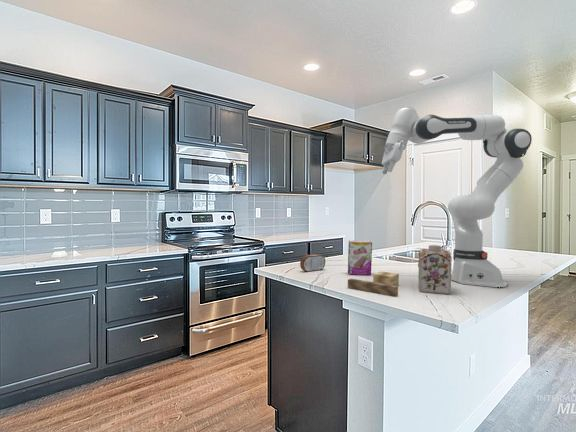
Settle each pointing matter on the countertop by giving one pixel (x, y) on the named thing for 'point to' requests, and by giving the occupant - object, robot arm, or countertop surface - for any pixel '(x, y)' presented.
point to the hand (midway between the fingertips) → (386, 172)
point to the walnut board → (373, 287)
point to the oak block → (386, 278)
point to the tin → (312, 262)
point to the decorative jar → (434, 270)
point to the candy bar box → (359, 257)
